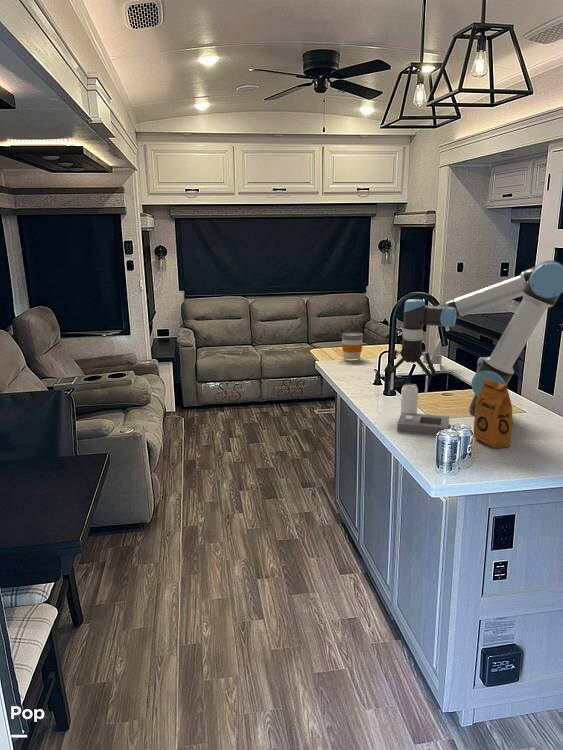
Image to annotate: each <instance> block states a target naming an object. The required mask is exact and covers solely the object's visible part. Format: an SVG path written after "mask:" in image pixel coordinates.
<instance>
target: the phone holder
mask: <svg viewBox="0 0 563 750" xmlns="http://www.w3.org/2000/svg"><path fill="white" fill-rule="evenodd" d="M441 346H442V344H441V339H440V335H439V336H438V337H437V340H436V344H435V347H434V349H433V351H432V353H430V352H429V357H430V360H431V362H432V364H441V365H442V362H443V361H442V359H443V354H440V353H439V350H440V348H441ZM422 356H423V355H422ZM422 362H423V363H426V364H428V363H427V361H426V358H424V356H423V357H422ZM427 368H428V369H430V367H429V365H427Z"/></svg>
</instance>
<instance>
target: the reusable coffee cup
mask: <svg viewBox="0 0 563 750" xmlns="http://www.w3.org/2000/svg"><path fill="white" fill-rule="evenodd" d="M363 340H364V333H362V332H357V331H349V332H347V331H346V332H342V333H341V347H342V352H343V359H344V360H345V359H360V358H361V353H362V351H363V342H364V341H363ZM360 360H361V359H360Z"/></svg>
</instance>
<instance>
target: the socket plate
mask: <svg viewBox="0 0 563 750" xmlns="http://www.w3.org/2000/svg"><path fill="white" fill-rule="evenodd" d="M397 421H398V422H397V423H396V432H399V431H400V432H399V433H409V432H410V433H411V434H420V435H421V434H422V435H429V436H430V435H431V436H437V435H436V434H437V433H438V432H439V431H441V430H444V429H448V430H449V425H450V416H446V415H434V414H425V413H417V414H414V413H403V412H402V413H401V412H400V415H399V418H398V420H397ZM410 433H409V434H410Z"/></svg>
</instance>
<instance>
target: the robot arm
mask: <svg viewBox="0 0 563 750" xmlns="http://www.w3.org/2000/svg"><path fill="white" fill-rule="evenodd" d="M562 293H563V264H561V262H559V261H554V260H546V261H543V262H540V263H539V264H537V265H535V266H533V267H531V268H529V269H525V270H523V271H521V273H520V274H519V275H518V276H515V277H511V278H508V279H505V280H503V281H501V282H497V283H494V284H492V285H489V286H487V287H483V288H481V289H477V290H475V291H472V292H469V293H467V294H464V295H461V296H459V297H456V298H453V299H450V300H447V301H443V302H441V303H439V304H437V305H427V304H425V300H423V299H416V298H411V299H407V300H406V301H405V302H404V307H403V308H404V310H403V323H402V324H403V326H402V341H401V350H398V349H394V350H393V353H392V356H391V358H390V360H389V361H388V363H387V365H386V367H384V370H383V371H384V373H387V374H388V377H387V380H388V381H387V382H390V387H389V388H390V391H393V389H394V377H395V373H394V372H395V370H397V369H398V368H399V367H400V366H401V365H402V364H403V363H404V362H405V363H412V364H413V363H414V364H415V363H417V364H418V365H419V367H420V368H421V370H422V369H423V371H422V372H424V373H425V374H426V376H425V384H424V386H425V387H424V394H427V393H428V389H429V387H428V386H431V384H432V377H436V376H437V372H436V371H435V369H434V367H433V364H432V362H431V360H430V357H429V353H430V352H429V351H426V352H425V351H424V352H423V351H422V339H423V331H424V330H423V328H424V326H433V327H434V326H436V327H444V328H451V327H452V328H453V327H454V326H455V325H456V321H457V319H459V318H460V317H464V316H466V315H469V314H473V313H475V312H478V311H481V310H484V309H487V308H490V307H492V306H497V305H499V304H503V303H505V302H508V301H511V300H515V299H517V298H520V297H522V300H521V302H520V303H519V305H518V307H517V309H516V310H515V312H514V314H513V316H512V317H511V319H510V321H509V323H508V324H507V326H506V327H505V329H504V332H503V333H502V334H501V336H500V339H498V342H497V343H496V346H495V347H494V349H493V351H492V352H491V354H490V356H486V357H485V356H484V357H479V358H478V360H477V362H476V365H477V367H476V372H475V374H474V376H473V377H472V379H471V388H472V391H473V393H474V394H473V398H472V400H471V402H470V405H469V409H468V412H469V414H471V415H473V416H474V417H475V404H476V399H477V397H478V395H479V393H480V391H481V389H482V387H483V385H484V383H483V380H484V379H485V378H486V379H489V380H492V381H495V382H499V383H500V384H503V385H505V386H507V387H508V383H509V381H510V380H511V378H512V377H513V375H514V373H515V371H514V368H513V366H514V365H515V363H516V362H517V360H518V358H519V356H520V354H521V352H522V351H523V350H524V348H525V346H526V344H527V342H528V341H529V339H530V337H531V336H532V334H533V332H534V331H535V329H536V327H537V325H538V324H539V322H540V320H541V319H542V317H543V315H544V313H545V312H546V310H547V309H549V308H551V307H554V306H555V304H556V302H557V301H558V300H559V297H560V295H561V294H562ZM399 355H400V356H401V358H400V359H399V360H398V361H397V362H396V364H395V365H393V366H391V365H392V364H393V362H394V360H395V359H396V357H398V356H399ZM422 356H424V358H426V361H427V363H428V365H429V367H430V370H431V372H430V371H429V370H428V369H427V368H426V366H425V365H424V364H423V360H422V359H421V357H422ZM390 367H391V368H390Z"/></svg>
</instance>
